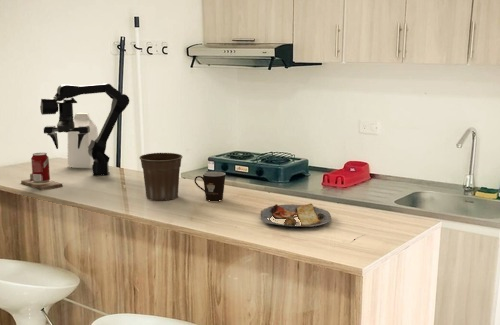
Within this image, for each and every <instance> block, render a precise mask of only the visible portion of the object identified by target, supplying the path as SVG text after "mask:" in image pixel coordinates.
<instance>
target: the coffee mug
mask: <svg viewBox="0 0 500 325" xmlns="http://www.w3.org/2000/svg"><path fill="white" fill-rule="evenodd" d="M198 178H200V179H201V180H202V181H203V185H204V186H203V187H204V188H203V187H201V186H200V185H199V183H198V182H197V179H198ZM225 181H226V172H223V171H206V172H203V173H202V176H201V175H197V176H195V177H194V181H193V182H194V184H195V185H196V186H197V188H199V189H200V190H201V191H202V192H204V194H205V196H204V197H205V201H207V200H210V201H218V202H220V201H219V200H222V199H224V192H225V183H226V182H225ZM210 201H209V202H210ZM222 201H223V200H222Z"/></svg>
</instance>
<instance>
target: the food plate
mask: <svg viewBox="0 0 500 325" xmlns="http://www.w3.org/2000/svg"><path fill="white" fill-rule="evenodd" d="M294 215H297V216H296V217H298V219H299V220H300V222H301V225H297V224H298V222H296V220H295V219H294V218H293V216H294ZM272 216H273V217H274V218H275V219H286V220H285V222H284V223H283V224H282V223H281V224H280V223H277V222H272V221H271V220H270V218H271V217H272ZM267 218H269V220H268V219H267ZM260 220H261V221H262V222H264V223H265V224H272V225H276V226H280V225H282V226H281V227H286V226H289V227H288V228H310V227H311V228H313V227H314V226H315V227H318V226H320V225H324V224H328V223H330V222H331V221H332V220H333V219H332V215H331V213H330V212H329V211H328V210H326V209H323V208H320V207H317V206H314V204H313V203H309V204H293V203H292V204H277V203H276V204H274V205H272V206H268V207H267V208H264V209H262V210H261V211H260ZM296 223H297V224H296ZM295 225H296V226H295Z"/></svg>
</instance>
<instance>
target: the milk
mask: <svg viewBox="0 0 500 325" xmlns="http://www.w3.org/2000/svg"><path fill="white" fill-rule="evenodd" d="M73 121H74V125H75V127H79V126H89V127H90V132H89V133H87V134H86V135H84V137H83V139H82V142H81V145H80V148H79V149H78V134H79V132H78V131H77V132H67V168H71V167H72V168H75V169H77V168H78V169H92V165H93V162H94V161H95V160H93V158H92V157H91V156H90V155H89V153H88V149H89V148H88V146H89V145H90V143H91V140H94V141H95V140H96V139H97V138H98V136H99V134H98V133H99V131H98V126H97V125H96V124H95V123H94V121H93V120H92V119H91V117H90V114H89V113H87V112H86V113H85V112H84V113H83V112H77V113H75V115H74V116H73Z"/></svg>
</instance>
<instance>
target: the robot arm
mask: <svg viewBox="0 0 500 325" xmlns="http://www.w3.org/2000/svg"><path fill="white" fill-rule="evenodd" d="M103 93H105V94H106V95H107V96H108V97H109V98H110V99H112V101H111V107H110V111H109V113H108V116H107V117H106V120H105V121H104V124H103V125H102V128H101V129H100V132H99V134H98V138H97V139H96V140H95V141H94V140H91V143H90V145H89V146H88V148H89V149H88V153H89V155H90V156H91V157H92V158H93V160H95V161H94V162H93V165H92V168H91V169H92V175H93V177H94V176H95V177H96V176H97V177H99V176H109V174H110V169H109V167H110V166H109V161H110V156H109V155H107V153H106V149H107V142H108V139H109V138H110V136H111V134H112V131H113V130H114V128H115V125H116V123H117V122H118V119H119V117H120V115H121V113H123V112H124V111H125V109H126V108H127V107H128V105H129V104H130V97H129V96H128V95H126V93H122V92H121V91H119V90H118V89H117V88H115V87H114V86H113V85H112V84H111V83H101V84H98V83H97V84H87V85H73V84H60V85H59V86H58V87H57V89H56V93H55V95H54V96H53V98H41V99H40V107H39V108H40V114H41V115H43V116H44V115H56V113H58V115H59V116H58V122H57V124H56V125H46V126H44V127H43V134H46V135H47V136H49V137H50V138H51V139H52V142H53V143H54V146H55V149H56V150H58V149H59V142H58V133H67V134H68V132H77V131H78V132H79V134H78V149H79V148H80V145H81V142H82V139H83V137H84V135H86V134H87V133H89V132H90V127H89V126H79V127H75V125H74V121H73V119H74V107H73V104H78V101H77V100H76V99H75V98H74V97H77V96H80V95H89V94H91V95H92V94H103Z"/></svg>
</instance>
